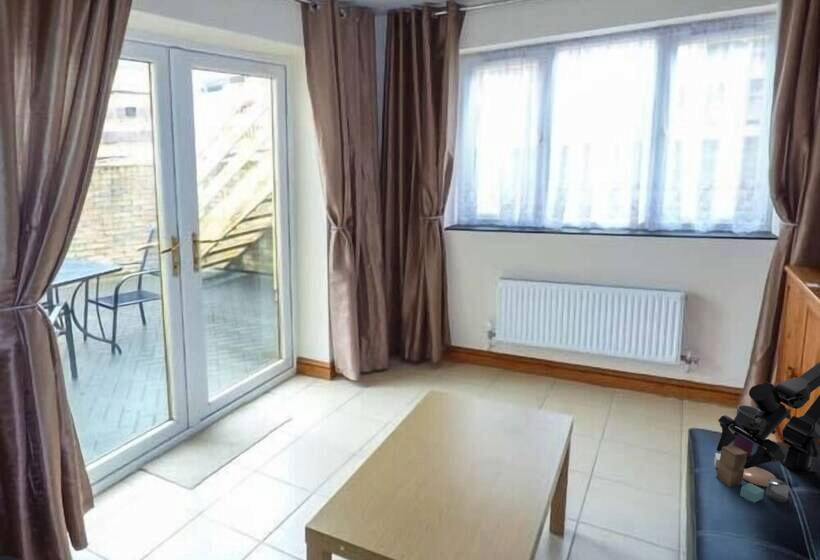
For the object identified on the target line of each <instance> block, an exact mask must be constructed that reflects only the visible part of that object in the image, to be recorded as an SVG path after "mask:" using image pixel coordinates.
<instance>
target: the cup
mask: <svg viewBox="0 0 820 560" xmlns="http://www.w3.org/2000/svg"><path fill="white" fill-rule="evenodd" d="M736 409H737V410H736V414H737V413H738V412H739V411H740V412H743V413H745V414H747V415H749V416H750V415H751V414H753V413H755V414H757V413H758V412H759V411H760V410H759V409H758V407H755V406H752V405H747V404H746V405H745V404H743V405H741V404H739V405H738V406H737V408H736ZM737 424H738V425H739V426H740V428H742V429H743V427H742V426H741V425H740V423H739V422H737ZM746 435H747V434H746ZM747 436H748V435H747ZM735 438H736V439H735V440H734V441H732V445H735V446H737V447H739V448H740V449H742V450H744V451H745V452H747V453H748V454H747V457H748V458H751V457H752V456H751V455H752V452H753V448H754V446H755V443H753V442H752V441H750V440H748V439H747V438H745V437H743V436H741V435H740V434H739V435H736V436H735ZM754 440H755V439H754Z"/></svg>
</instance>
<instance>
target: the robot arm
mask: <svg viewBox="0 0 820 560" xmlns="http://www.w3.org/2000/svg"><path fill="white" fill-rule="evenodd" d="M819 387H820V361H819V362H818V363H816V364H815V365H814V366H812V367H811V368H809V369H808V370H806V371H805V372H804V373H802V374H801V375H800V376H798V377H796V378H789V379H785V380H783V381H781V382H780V383H777V384H775V385H774V384H773V383H771V382H768V381H765V382H764V383H758V384H755V385H754V386H751V387H750V389H749V391H748V395H749V397H750V399H751V400H752V401H753V403H754V404H755V406H756V408H757V409H759V410H760V411H759V412H758V413H757V414H755V413H753V414H751V415H750V416H749V415H747V414H745V413H743V412H740V411H739V412H738V413H737V412H736V415H735V417H734V418H731V417H730V416H728V415H726V414H725V415H722V416H720V417H719V419H717V421H718V422H719V427H721V435H720V438H719V442H718V445H717V447H716V451H717V453H718V452H719V453H721V451H722V447H724V446H730V444H732V443H733V441H734V440H735V439H736V438H735V436H736V435H739V434H740V435H741V436H743V437H745V438H747V439H748V440H750V441H752V442H753V443H754V445H757V448H756V451H755V452H754V453H753V454H752V456H750V457H749V459H748V460H746V463H745V465H744V466H743V467H744V468H745V469H748V468H751V467H753V466H754V467H757V466H759V465H762V464H767V463H770V462H771V463H776V462H778V463H780V464H782V465H784V466H785V467H787V468H789V469H790V470H792V471H793V472H795V473H797V474H807V473H812V472H814V473H815V472H816V468H815V469H814V468H813V467H811V466H812V463H813V458H819V456H820V441H819V440H820V394H819V395H818V397H817V398H816V399H815V400H814V402H812V404H811V405H810V406H809V408H808V409H807V410H806V412H804V414H803V415H800V416H796V415H793V416H792V415H791V409H789V408H787V407H790V408H792V409H794V410H800V409H801V408H803V406H805V404H807V403H808V402H809V401H810V398H811V394H812V392H814V391H815V390H817V389H818V388H819ZM785 405H786V406H787V407H786V406H785ZM784 419H787V420H789V421H788V422H787V423H785V424H784V427H783V429H782V432H781V433H782V442H783V444H785V445H787V446H788V448H787V452H786V453H785V451H784V450H783V448H782V446H781V445H780V444H778V443H776V442H775V441H773V440H771V439H769V438H768V437H769V436H770V435H771V434H772V435H775V434H776V433H777V431H776V429H777V427H778V426H779V425H780V424H781V423H782V422H783V421H784ZM737 422H739V423H740V425H741V426H742V427H743V429H742V428H740V426H739V425H738V424H737ZM746 434H747V435H748V436H747V435H746ZM754 439H755V440H754Z"/></svg>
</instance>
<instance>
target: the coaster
mask: <svg viewBox="0 0 820 560" xmlns="http://www.w3.org/2000/svg"><path fill="white" fill-rule="evenodd" d="M769 479H778V478H777V477H776V475H774V474H773V473H771V472H770V471H768V470H766V469H764V468H762V467H761V468H760V467H758V466H753V467H751V468H748V469H744V473H743V478H742V480H744V481H746V482H747V481H748V483H749V482H750V483H751V484H753V485H754V484H755V486H758V485H759V486H758V487H762V486H763V487H764V488H767V485H768V480H769ZM763 487H762V488H763Z"/></svg>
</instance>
